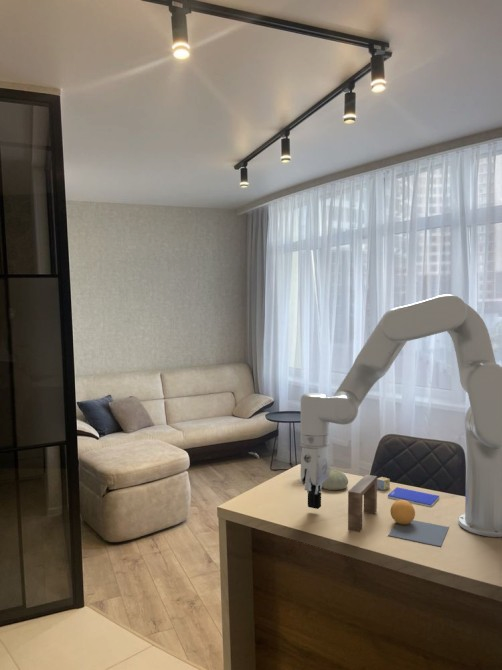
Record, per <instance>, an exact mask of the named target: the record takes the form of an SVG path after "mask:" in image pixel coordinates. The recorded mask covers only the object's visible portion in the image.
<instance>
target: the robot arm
mask: <svg viewBox="0 0 502 670" xmlns="http://www.w3.org/2000/svg"><path fill="white" fill-rule="evenodd" d="M445 332H447V333H448V335H449V336H450V338H451V341H452V344H453V348H454V352H455V356H456V363H457V367H458V373H459V381H460V385H461V387H462V388H463V390H464V391H465V392H466V393H467V395H468V399H469V405H470V406H469V407H468V409H467V410H466V413H465V416H464V431H465V447H466V448H465V451H466V453H465V506H464V513H463V514H460V515H459V517H458V521H457V522H458V525H459V526H460V527H461V528H463V529H464V530H466V531H467V532H470V533H472V534H475V535H478V536H483V537H491V538H501V537H502V366H501V365H500V364H498V363H497V362H496V358H495V354H494V349H493V345H492V341H491V337H490V333H489V329H488V327H487V324H486V323H485V321H484V319H483V318H482V317H481V315H480V314H479V313H478V312H477V310H475V309H474V308H473V307H472V306H470V305H469V304H468V303H466V302H465V301H464V300H463V299H462V298H461V297H459V296H458V295H456V294H455V295H454V294H451V293H449V294H441V295H440V294H439V295H437V296H434V297H431V298H428V299H425V300H422V301H418V302H414V303H411V304H407V305H403V306H398V307H392V308H390V309H388V310H387V311H386V312H385V313H384V314H383V316H382V317H381V319H380V320H379V321H378V323H377V325H376V326H375V327H374V329H373V331H372V333H371V334H370V335H369V337H368V339H367V340H366V342H365V343H364V345H363V347H362V348H361V349H360V351H359V352H358V354H357V356H356V357H355V359H354V362H353V364H352V366H351V368H350V369H349V371H348V372H347V374H346V375H345V377H344V379H343V380H342V382H341V383H340V384H339V386H338V388H337V389H336V391H335V393H334V394H333V396H328V395H327V394H325V393H321V392H306V393H304V394H302V395H301V397H300V446H301V447H302V448H301V457H300V482H301V484H303V485H304V491H307V507H308V508H311V509H316V510H318V509H320V508H321V507H322V488H323V487H322V483H323V482H324V481H325V480H327V479H328V478H329V476H330V470H331V468H330V467H331V466H330V465H331V464H330V449H329V445H330V442H329V440H330V438H329V437H330V423H331V424H336V425H349V424H351V423H353V422H354V421H356V419H357V417H358V414H359V413H358V412H359V407H360V406H361V405H362V403H363V401H364V400H365V398H366V396H367V395H368V393H369V392H370V391H371V390H372V388H373V387H374V386H375V384H376V383H377V382H378V381H379V380H380V379H382V378H383V377H384V376H385V375H386V374H387V372H388V371H389V370H390V368H391V367H392V365H393V364H394V362H395V361H396V359H397V358H398V356H399V354H400V353H401V351H402V350H403V348H404V346H405V345H406V343H407V342H409V341H410V342H411V341H414V340H415V341H416V340H419V339H422V338H426V337H430V336H434V335H437V334H438V335H439V334H442V333H445Z"/></svg>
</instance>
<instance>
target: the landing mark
mask: <svg viewBox="0 0 502 670" xmlns="http://www.w3.org/2000/svg"><path fill="white" fill-rule="evenodd" d="M448 530H449V526H445V525H440V524H435V523H431V522H430V523H429V522H424V521H419V520H415V519H413V521H412V522H411V523H409V524H406V525H402V524H399V523H397V522H395V523H394V525H393V527H392V529H391V530H390V532H389V533H388V534H387V535H388V537H393V538H396V539H401V540H405V541H410V542H416V543H418V544H419V543H421V544H425V545H429V546H433V547H439V548H441V547H442V545H443V542H444V540H445V538H446V535H447V532H448Z"/></svg>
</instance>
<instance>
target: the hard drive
mask: <svg viewBox="0 0 502 670" xmlns="http://www.w3.org/2000/svg"><path fill="white" fill-rule="evenodd" d="M387 499H393V500H396V501H397V500H406V501H408V502H410V503H411V504H416V505H421V506H426V507H430V508H431V507H433V506H434V504H435V503H436V502H437V501H438V500H439V499H440V495H436V494H432V493H426V492H422V491H417V490H412V489H407V488H402V487H395V488H394V489H393V490H392V491H390V492H389V493H388V494H387Z"/></svg>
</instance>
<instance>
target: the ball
mask: <svg viewBox="0 0 502 670" xmlns="http://www.w3.org/2000/svg"><path fill="white" fill-rule="evenodd" d="M412 504H413V503H410V502H408V501H406V500H396V501H394V502H393V503H392V504H391V506H390V515H391V518H392V519H393V521H394V522H395V523H399V524H402V525H406V524H409V523H411V522H412V521H413V520H415V516H416V510H415V508H414V506H413V505H412Z"/></svg>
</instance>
